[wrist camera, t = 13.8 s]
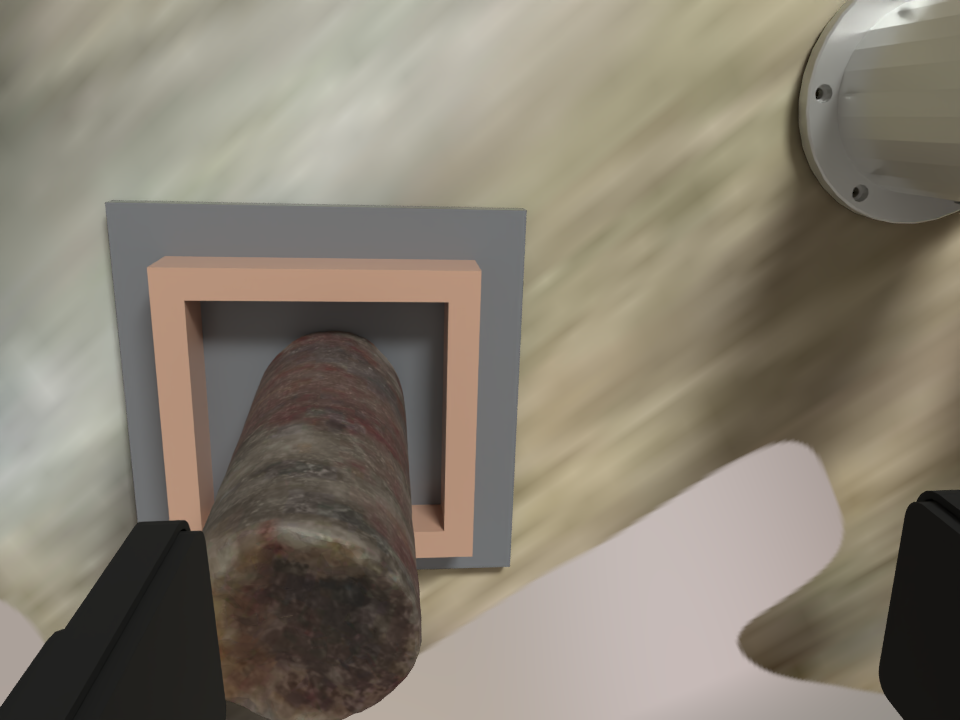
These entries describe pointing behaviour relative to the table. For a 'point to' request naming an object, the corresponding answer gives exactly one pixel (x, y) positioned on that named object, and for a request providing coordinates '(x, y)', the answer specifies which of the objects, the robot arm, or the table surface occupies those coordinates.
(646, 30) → the table surface
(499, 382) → the tray
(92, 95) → the table surface
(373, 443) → the candle
